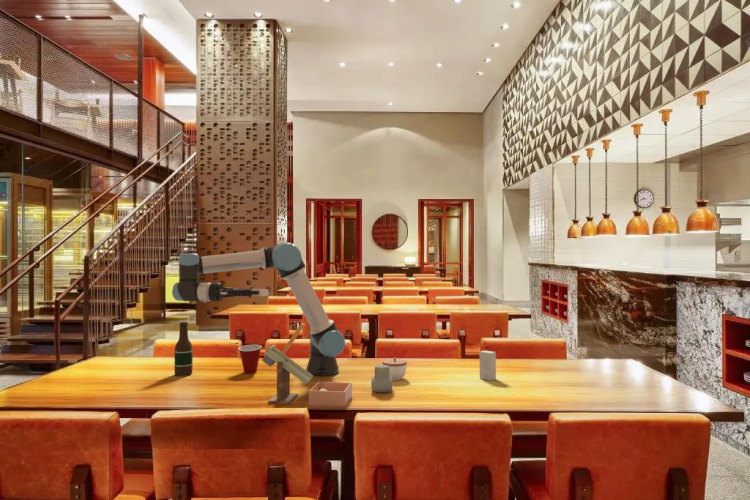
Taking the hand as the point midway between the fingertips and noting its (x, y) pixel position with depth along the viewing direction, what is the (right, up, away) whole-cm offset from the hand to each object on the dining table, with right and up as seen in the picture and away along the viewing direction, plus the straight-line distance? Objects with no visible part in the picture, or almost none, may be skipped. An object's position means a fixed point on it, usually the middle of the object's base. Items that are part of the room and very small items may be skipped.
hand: (267, 292), depth 201 cm
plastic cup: (-16, -41, +37) cm, 57 cm away
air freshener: (+45, -40, +3) cm, 61 cm away
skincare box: (+92, -40, +23) cm, 103 cm away
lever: (+8, -30, -7) cm, 32 cm away
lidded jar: (+51, -40, +23) cm, 69 cm away
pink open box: (+26, -40, -11) cm, 49 cm away
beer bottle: (-46, -41, +32) cm, 69 cm away
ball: (+23, -37, -11) cm, 45 cm away
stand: (+8, -40, -9) cm, 42 cm away
